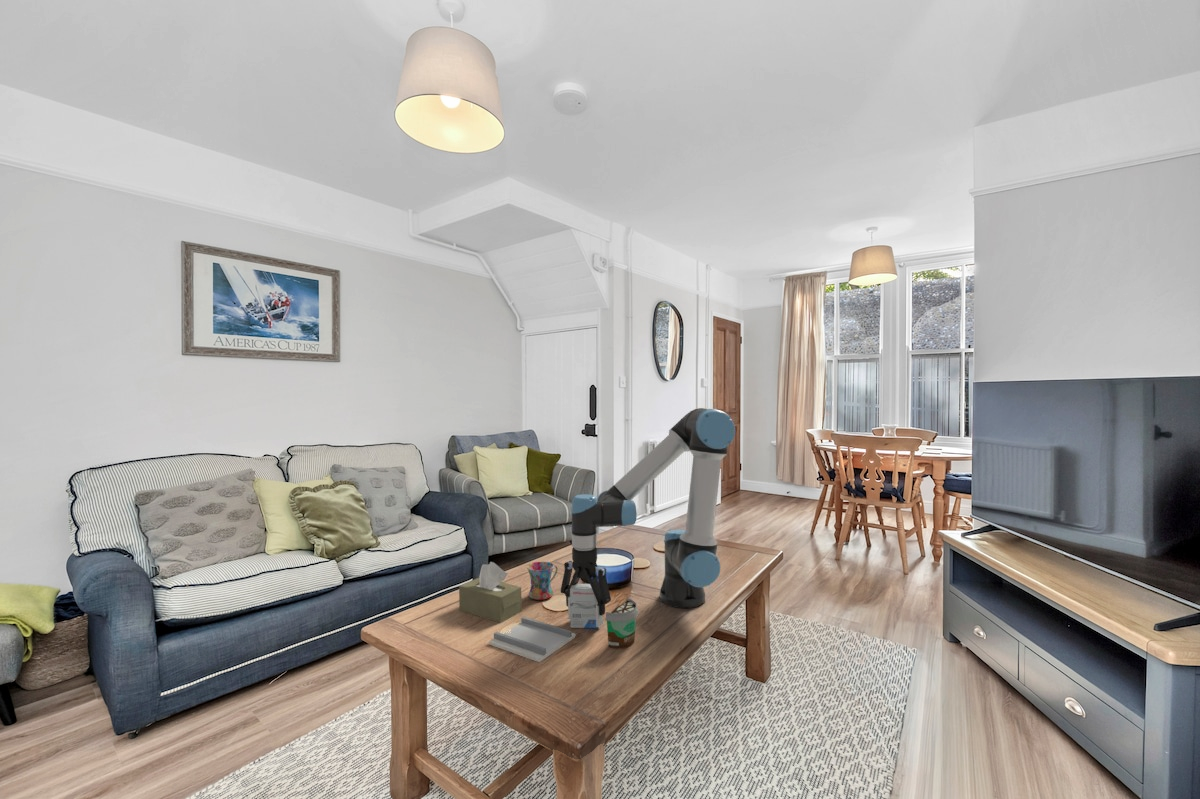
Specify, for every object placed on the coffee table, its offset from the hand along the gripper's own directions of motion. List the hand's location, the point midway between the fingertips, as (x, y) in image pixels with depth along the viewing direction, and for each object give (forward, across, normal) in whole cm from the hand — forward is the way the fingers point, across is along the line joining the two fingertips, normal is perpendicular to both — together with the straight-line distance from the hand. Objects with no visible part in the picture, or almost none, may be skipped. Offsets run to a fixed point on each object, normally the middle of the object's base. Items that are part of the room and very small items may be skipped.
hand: (585, 621), depth 153 cm
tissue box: (+1, +32, +8) cm, 33 cm away
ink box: (+1, 0, 0) cm, 1 cm away
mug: (+1, +25, -11) cm, 27 cm away
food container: (+1, -16, +3) cm, 16 cm away
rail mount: (+1, +7, +16) cm, 17 cm away
